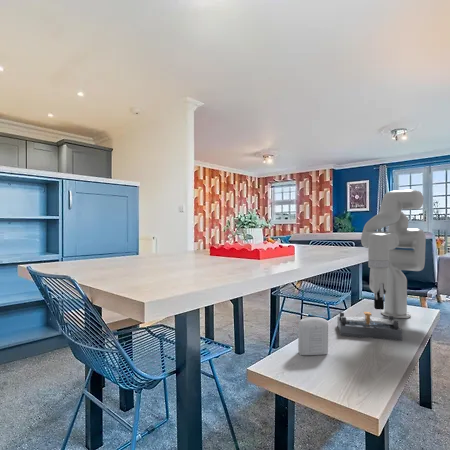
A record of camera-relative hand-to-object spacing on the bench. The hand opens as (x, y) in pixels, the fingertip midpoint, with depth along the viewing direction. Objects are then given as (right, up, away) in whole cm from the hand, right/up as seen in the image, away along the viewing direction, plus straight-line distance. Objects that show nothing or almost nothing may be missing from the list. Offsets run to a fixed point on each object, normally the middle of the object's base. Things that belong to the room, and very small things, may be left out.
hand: (378, 308), depth 127 cm
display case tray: (-4, -10, 0) cm, 11 cm away
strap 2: (+1, -5, -1) cm, 5 cm away
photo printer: (-32, -10, -20) cm, 39 cm away
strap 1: (-10, -5, +2) cm, 11 cm away
